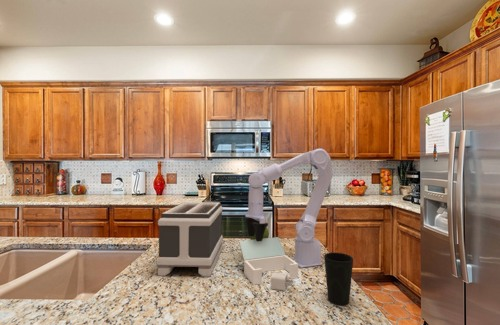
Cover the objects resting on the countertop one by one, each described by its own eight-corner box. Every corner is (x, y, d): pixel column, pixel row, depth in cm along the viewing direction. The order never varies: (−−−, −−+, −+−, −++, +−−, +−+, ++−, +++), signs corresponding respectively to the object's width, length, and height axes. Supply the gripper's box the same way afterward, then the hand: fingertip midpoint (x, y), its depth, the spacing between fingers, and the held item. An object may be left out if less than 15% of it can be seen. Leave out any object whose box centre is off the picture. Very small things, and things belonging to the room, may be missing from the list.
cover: (285, 254, 95) (284, 255, 96) (278, 237, 100) (277, 238, 101) (244, 259, 90) (243, 261, 90) (239, 241, 95) (238, 242, 95)
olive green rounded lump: (258, 246, 120) (258, 221, 120) (272, 250, 114) (273, 224, 114) (245, 251, 113) (245, 224, 114) (259, 255, 108) (259, 227, 108)
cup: (350, 310, 67) (350, 264, 67) (320, 302, 71) (320, 258, 71) (355, 298, 73) (355, 255, 74) (328, 291, 77) (328, 250, 78)
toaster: (224, 246, 121) (224, 200, 121) (210, 278, 86) (211, 214, 87) (185, 245, 121) (185, 200, 121) (156, 277, 87) (156, 214, 87)
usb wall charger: (273, 283, 82) (273, 271, 82) (295, 287, 80) (295, 274, 80) (270, 289, 78) (270, 276, 78) (293, 293, 76) (293, 279, 76)
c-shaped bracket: (285, 267, 95) (285, 255, 95) (298, 277, 87) (298, 263, 87) (244, 273, 90) (244, 260, 90) (253, 285, 81) (253, 270, 81)
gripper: (240, 201, 107) (239, 234, 106) (252, 206, 93) (252, 244, 93) (256, 200, 109) (255, 233, 109) (270, 205, 95) (270, 242, 95)
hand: (255, 238), depth 101 cm, fingers open, 7 cm apart
